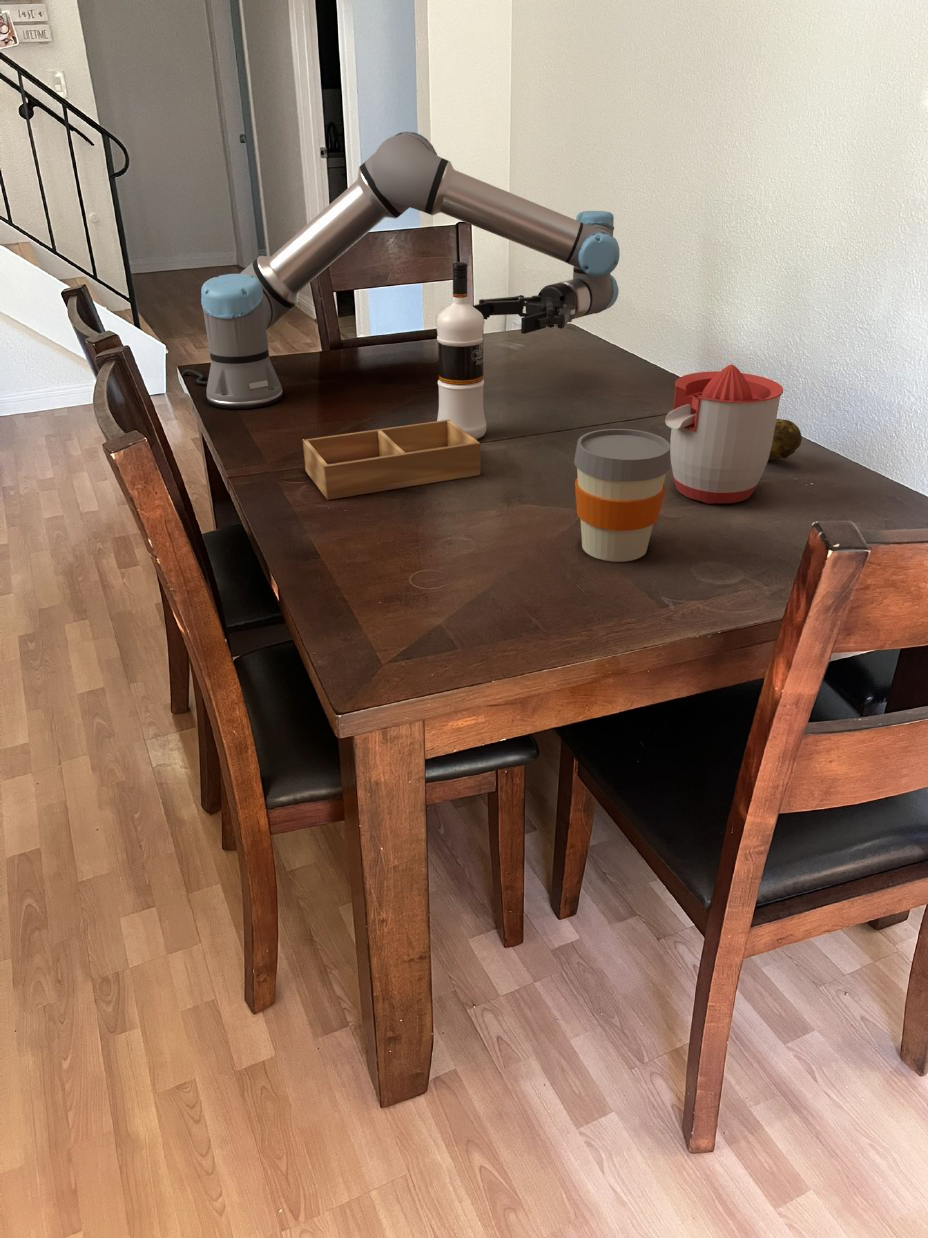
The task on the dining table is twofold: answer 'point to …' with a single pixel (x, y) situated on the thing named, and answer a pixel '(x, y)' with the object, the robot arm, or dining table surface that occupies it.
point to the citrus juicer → (721, 433)
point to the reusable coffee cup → (619, 490)
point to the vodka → (461, 359)
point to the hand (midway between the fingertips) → (493, 320)
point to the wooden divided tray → (390, 458)
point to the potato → (785, 439)
